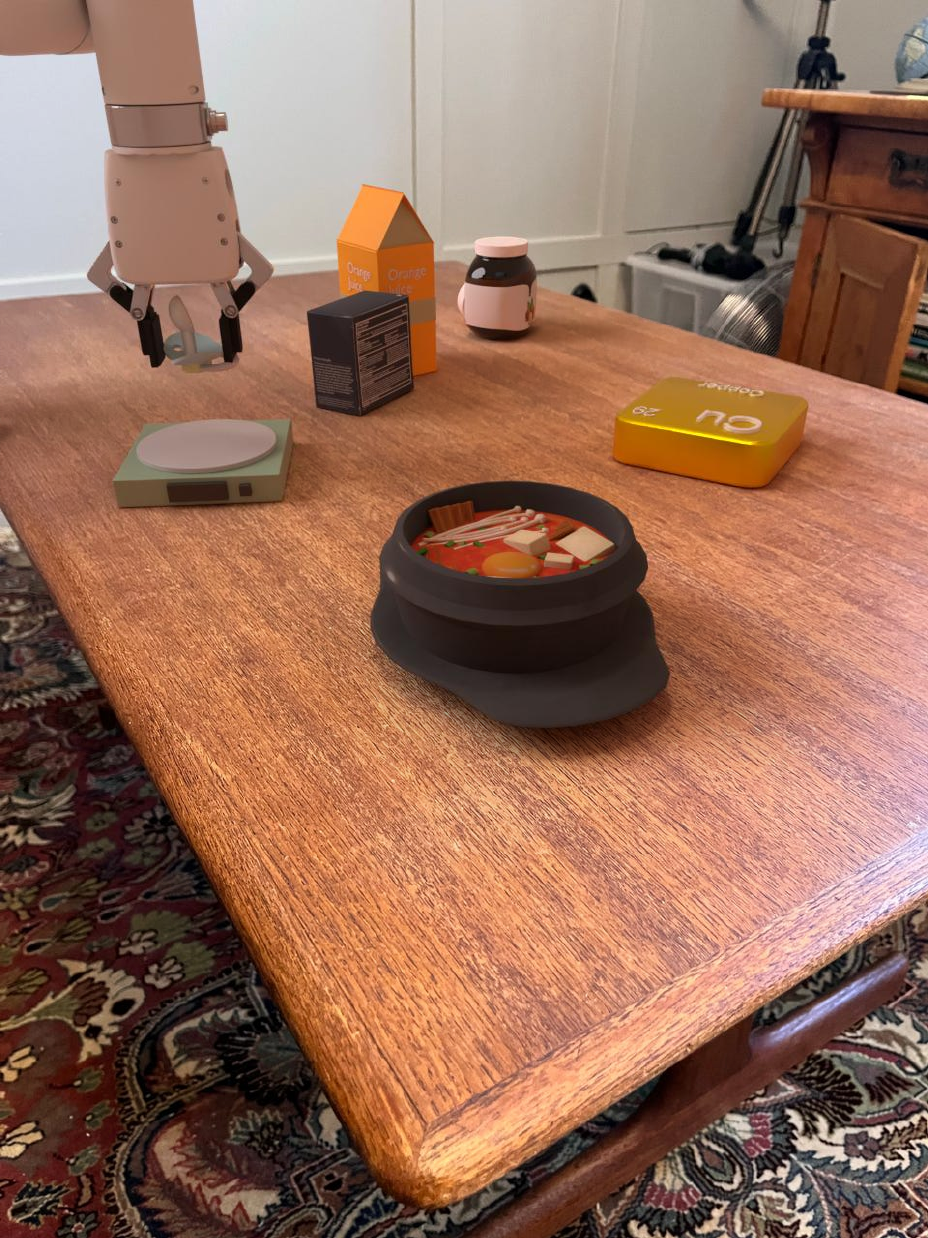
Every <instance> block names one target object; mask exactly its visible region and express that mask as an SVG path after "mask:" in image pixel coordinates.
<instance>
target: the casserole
mask: <svg viewBox="0 0 928 1238" xmlns="http://www.w3.org/2000/svg"><path fill="white" fill-rule="evenodd" d="M642 546H643V545H642V544H641V543H640V542H639V541H638V540H637V537H636V534H635V530H634V526H633V525H632V523H631V522H630V520H629V518H628V516H627V515H625V513H624V512H623V511H622V510H620V509H619V508H618V507H617V506H615V505H614V504H612V503H610V502H609V501H608V500H606V499H603V498H602V497H599V496H597V495H595V494H592V493H589V492H587V491H583V490H580V489H577V488H574V487H571V486H565V485H561V484H555V483H550V482H540V481H533V480H492V481H490V480H489V481H480V482H473V483H466V484H462V485H457V486H452V487H447V488H445V489H442V490H438V491H435V492H433V493H430V494H428V495H426V496H424V497H422V498H420V499H418V500H416V501H414V502H413V503H412V504H411V505H409V506H408V507H406V508H405V509H404V510H403V512H401V514H400V515H399V516H398V517H397V520H396V521H395V525H394V528H393V530H392V534H391V535H390V537H389V538H388V539H387V540H386V541H385V542H384V544H383V545H382V548H381V551H380V553H379V556H378V563H379V590H378V593H377V595H376V598H375V601H374V604H373V607H372V610H371V612H370V615H369V617H370V618H369V619H370V620H369V621H370V631H371V634H372V636H373V638H374V641H375V643H376V645H377V647H378V648H379V649H380V650H381V651H382V652H383V654H385V655H386V657H387V658H388V660H390V661H392V662H393V663H394V664H396V665H397V666H398V667H400V668H401V669H402V670H405V671H406V672H408V673H410V674H412V675H414V676H416V677H418V678H421V679H422V680H425V681H427V682H429V683H431V684H433V685H436V686H437V687H440V688H441V689H444V690H446V691H447V692H450V693H453V694H454V695H456V696H457V697H459V698H460V699H462V700H463V701H464V702H466V704H469V705H470V706H471V707H473V708H474V709H476V710H477V711H479V712H480V713H482V714H483V715H485V716H487V717H488V718H490V719H491V720H493V721H496V722H500V723H503V724H507V725H510V726H514V727H517V728H535V729H554V728H555V729H556V728H566V727H567V728H568V727H577V726H583V725H588V724H594V723H598V722H603V721H608V720H610V719H613V718H616V717H619V716H621V715H624V714H628V713H630V712H633V711H635V710H637V709H639V708H641V707H642V706H644V705H646V704H648V703H649V702H651V701H653V700H655V698H657V697H658V696H659V695H660V694H661V693H662V692H663V691H665V689H666V688H667V687H668V684H669V680H670V676H671V672H670V670H669V667H668V665H667V662H666V659H665V657H664V655H663V653H662V651H661V649H660V647H659V645H658V644H657V638H656V637H657V636H656V628H655V620H654V619H655V618H654V613H653V611H652V609H651V607H650V605H649V603H648V601H647V599H646V598H645V597H644V596H643V595H642V594H641V592H640V591H638V590H639V588H640V586H641V585H642V584H643V582H645V580H646V576H647V573H648V570H649V563H648V555H647V553H646V551H645V549H644V548H643V547H642Z"/></svg>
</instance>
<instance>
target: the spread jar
mask: <svg viewBox="0 0 928 1238" xmlns="http://www.w3.org/2000/svg"><path fill="white" fill-rule="evenodd" d="M528 253H529V241H528V239H526V238H523V237H518V236H507V235H506V236H505V235H504V236H501V235H499V236H497V235H496V236H487V237H480V238H478V239H475V240H474V254H475V256H474V258H473V259H472V260H471V262H470V264H469V266H468V268H467V271H466V273H465V279H464V284H463V285H462V287H461V288H460V290H459V293H458V295H457V308H458V310H459V312H460V313H461V314H462V315H463V316H464V319H465V324H466V326H467V328H468V330H469V331H470V332H472V333H473V334H474V335H476V336H477V337H479V338H482V339H485V340H494V341H509V340H516V339H519V338H522V337H525V335H527V334H528V333H529V331H531V328H532V326H533V323H534V321H535V318H536V317H535V316H536V313H537V312H536V311H537V293H538V291H537V287H538V285H537V283H538V280H537V279H538V277H537V269H536V267H535V266H536V265H535V264H534V262H533V261H532V259H531V258H530V257H529V255H528Z"/></svg>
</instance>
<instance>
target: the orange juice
mask: <svg viewBox="0 0 928 1238" xmlns="http://www.w3.org/2000/svg"><path fill="white" fill-rule="evenodd" d="M348 213H349V214H348V215H347V217H346V220H345V221H344V224H343V226H342V229H341V230H340V233H339V235H338V237H337V238H335V239H336V241H335V242H336V252H337V267H338V279H339V299H342V298H345V297H348V296H350V295H353V294H356V293H359V292H361V291H364V290H365V291H374V292H384V293H394V294H403V295H409V314H410V331H411V352H412V369H413V377H416V376H420V375H425V374H428V373H432V372H437V370H438V369H437V367H438V365H437V364H438V363H437V329H436V327H437V326H436V325H437V324H436V320H437V307H436V305H437V304H436V301H437V300H436V287H435V286H436V283H435V242H434V240H433V239H432V237H431V235H430V234H429V232H428V231H427V229H426V227H425V226H424V224H423V222H422V221H421V219H420V217H419V216H418V214H417V212H416V211H415V209H414V207H413V206H412V204H411V202H410V201H409V200H408V198H407V196H406V194H405V193H404V192H403V191H399V190H394V189H388V188H383V187H380V186H379V187H378V186H374V185H368V184H364V183H361V187H360V190H359V191H358V194H357V197H356V198H355V200H354V203H353V204H352V207H351V210H350V212H348Z"/></svg>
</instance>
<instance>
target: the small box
mask: <svg viewBox="0 0 928 1238" xmlns="http://www.w3.org/2000/svg"><path fill="white" fill-rule="evenodd" d="M306 319H307V328H308V336H309V346H310V359H311V365H312V366H311V367H312V377H313V386H314V396H315V406H316V408H319V409H324V410H328V411H329V410H330V411H334V412H338V413H345V414H349V415H354V416H359V417H360V416H363V415H365V414H367V413H369V412H371V411H373V410H375V409H377V408H378V407H379V408H380V407H381V406H383V405H385V404H386V403H389V402H391V401H392V400H394V399H396V398H398V397H400V396H402V395H404V394H406V393H408V392H411V391H413V390H414V389H415V382H414V376H413V369H412V352H411V331H410V314H409V295H403V294H394V293H384V292H374V291H365V290H364V291H361V292H359V293H356V294H353V295H350V296H348V297H345V298H342V299H340V298H339V299H337V300H334V301H331V302H328V303H326V304H322V305H319V306H318V307H314V308H312V309H308V310H307V311H306Z"/></svg>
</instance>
